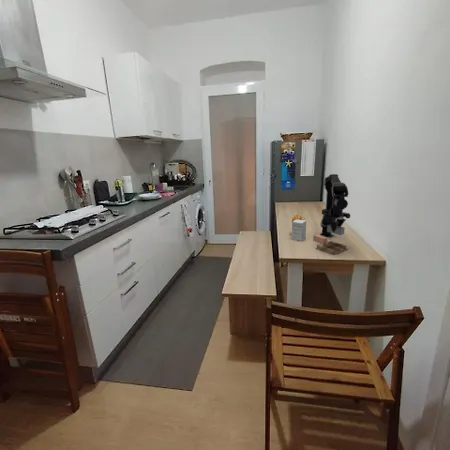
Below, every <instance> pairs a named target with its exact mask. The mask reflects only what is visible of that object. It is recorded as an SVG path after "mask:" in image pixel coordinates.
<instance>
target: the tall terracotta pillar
mask: <svg viewBox="0 0 450 450" xmlns="http://www.w3.org/2000/svg"><path fill="white" fill-rule="evenodd" d="M328 238H329V237H326V236H322V235H320V234H313V238H312V241H313V242H316V243H319V244H320V245H323V243H326V244H328V243H329V242H328V240H329V239H328Z"/></svg>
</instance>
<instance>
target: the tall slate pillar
mask: <svg viewBox="0 0 450 450" xmlns="http://www.w3.org/2000/svg"><path fill="white" fill-rule="evenodd" d="M327 232H330V233H331V234H333V235H334V234H335V235H338V236H342V235H344V234H345V227H344V226H341V227H340V226H337V227H336V230H335V232H333V231H332V228H331V225H328V226H327Z"/></svg>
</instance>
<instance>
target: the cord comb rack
mask: <svg viewBox="0 0 450 450" xmlns="http://www.w3.org/2000/svg"><path fill="white" fill-rule="evenodd" d="M315 250H319V251H321V252H324V253H328V254H329V255H333V256H336V255H338V254H341V253H344V252H346V251H348V250H349V249H347V245H345V244H343V243H338V242H336V241H335V242H334V241H332V240H329V242H328V243H327V244H326V243H323V244H322V245H321V244H320V245H319V244H317V245H316V247H315Z"/></svg>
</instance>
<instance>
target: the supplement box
mask: <svg viewBox="0 0 450 450" xmlns="http://www.w3.org/2000/svg"><path fill="white" fill-rule="evenodd" d="M306 234H307V220H306V219H305V220H303V219H302V220H297V219H296V220H294V221H293V222H292V221H291V240H293V241H299V242H302V241H304V240H305V239H306Z"/></svg>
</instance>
